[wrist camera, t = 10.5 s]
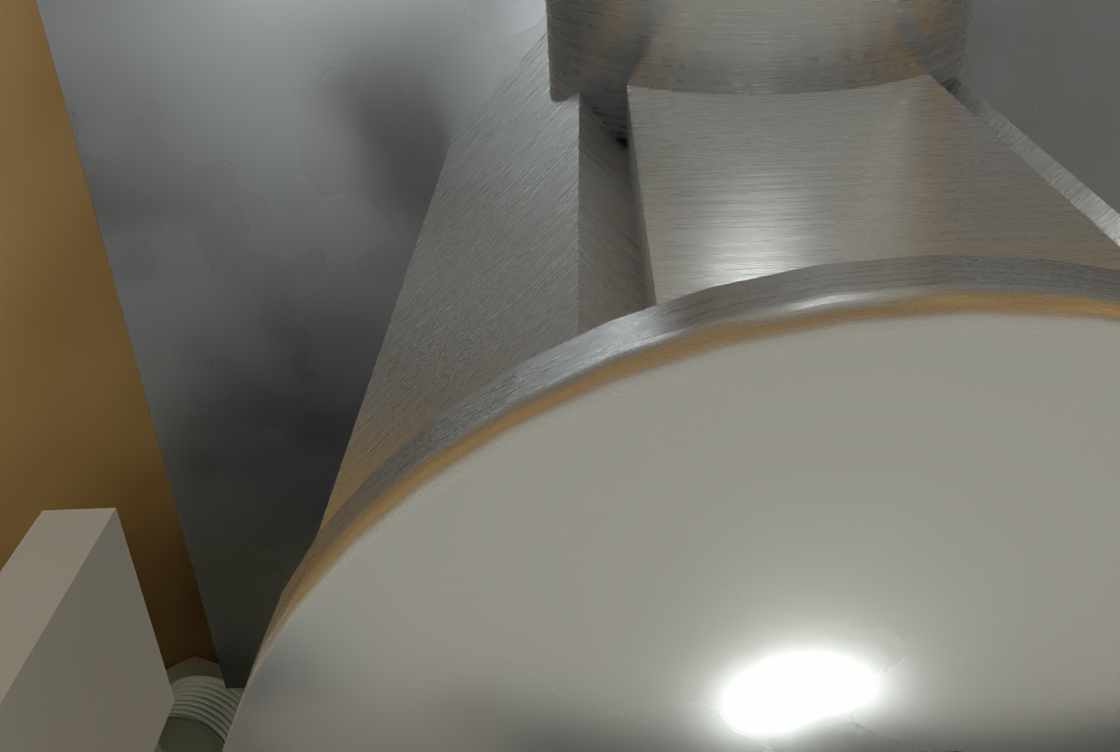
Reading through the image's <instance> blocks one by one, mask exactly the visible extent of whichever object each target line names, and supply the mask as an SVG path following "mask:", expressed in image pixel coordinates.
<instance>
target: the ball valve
mask: <svg viewBox="0 0 1120 752" xmlns="http://www.w3.org/2000/svg"><path fill="white" fill-rule="evenodd" d="M166 673H167V676H168V679H169V683H170V686H171V689H172V692H173V696H174V699H175V700H174V703H173V705H172V708H171V710H170V713H169V715H168V718H167V720H166V723H165V725H164V728H163V730H162V733H161V735H160V738H159V740H158V742H157V745H156V747H155V750H154V752H222V750H223V747H224V744H225V742H226V739H227V736H228V733H229V731H230V728H231V725H232V722H233V720H234V717H235V714H236V711H237V709H238V706H239V703H240V700H241V698H242V695H243V692H244V689H245V688H226V687H225V683H224V680H223V676H222V672H221V669H220V665H219V664H217V663H215V662H212V661H208V660H205V659H202V658H198V657H195V656H194V657H192V658H189V659H187V660H185V661H183V662H181V663H179V664H177V665H175V666H173V667H171V668H169V669H167V670H166Z"/></svg>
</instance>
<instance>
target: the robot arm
mask: <svg viewBox="0 0 1120 752" xmlns="http://www.w3.org/2000/svg"><path fill="white" fill-rule="evenodd" d="M174 700H175V699H174V696H173V692H172V689H171V686H170V683H169V679H168V676H167V673H166V669H165V666H164V663H163V660H162V656H161V653H160V650H159V647H158V643H157V640H156V637H155V634H154V630H153V627H152V624H151V621H150V617H149V614H148V611H147V608H146V604H145V601H144V598H143V594H142V591H141V588H140V585H139V581H138V578H137V575H136V572H135V568H134V565H133V562H132V559H131V555H130V552H129V549H128V546H127V542H126V539H125V536H124V532H123V529H122V526H121V523H120V519H119V516H118V513H117V510H116V508H96V509H70V510H44V511H42V512H41V513H40V515H39V516H38V517H37V519H36V520H35V522H34V523H33V525H32V526H31V528H30V529H29V531H28V532H27V533H26V535H25V536H24V538H23V539H22V541H21V542H20V544H19V545H18V547H17V548H16V549H15V551H14V552H13V554H12V555H11V557H10V558H9V560H8V561H7V563H6V564H5V565H4V567H3V568H2V570H1V571H0V752H154V750H155V747H156V745H157V742H158V740H159V738H160V735H161V733H162V730H163V728H164V725H165V723H166V720H167V718H168V715H169V713H170V710H171V708H172V705H173V703H174Z"/></svg>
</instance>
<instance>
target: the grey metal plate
mask: <svg viewBox="0 0 1120 752" xmlns="http://www.w3.org/2000/svg"><path fill="white" fill-rule="evenodd" d="M36 1H37V4H38V8H39V12H40V15H41V19H42V23H43V26H44V30H45V33H46V37H47V41H48V44H49V48H50V52H51V55H52V59H53V63H54V66H55V70H56V73H57V77H58V81H59V84H60V88H61V92H62V95H63V99H64V102H65V106H66V110H67V113H68V117H69V121H70V124H71V128H72V131H73V135H74V139H75V142H76V146H77V150H78V153H79V157H80V161H81V164H82V168H83V171H84V175H85V179H86V182H87V186H88V190H89V193H90V197H91V200H92V204H93V208H94V211H95V215H96V219H97V222H98V226H99V229H100V233H101V237H102V240H103V244H104V248H105V251H106V255H107V259H108V262H109V266H110V269H111V273H112V277H113V280H114V284H115V288H116V291H117V295H118V298H119V302H120V306H121V309H122V313H123V317H124V320H125V324H126V327H127V331H128V335H129V338H130V342H131V346H132V349H133V353H134V357H135V360H136V364H137V367H138V371H139V375H140V378H141V382H142V386H143V389H144V393H145V396H146V400H147V404H148V407H149V411H150V415H151V418H152V422H153V426H154V429H155V433H156V436H157V440H158V444H159V447H160V451H161V455H162V458H163V462H164V465H165V469H166V473H167V476H168V480H169V484H170V487H171V491H172V494H173V498H174V502H175V505H176V509H177V513H178V516H179V520H180V524H181V527H182V531H183V534H184V538H185V542H186V545H187V549H188V553H189V556H190V560H191V563H192V567H193V571H194V574H195V578H196V582H197V585H198V589H199V592H200V596H201V600H202V603H203V607H204V611H205V614H206V618H207V622H208V625H209V629H210V632H211V636H212V640H213V643H214V647H215V651H216V654H217V658H218V661H219V665H220V669H221V672H222V676H223V680H224V683H225V687H226V688H245V687H246V684H247V681H248V678H249V676H250V673H251V670H252V667H253V664H254V662H255V659H256V656H257V653H258V651H259V648H260V646H261V643H262V641H263V638H264V636H265V633H266V631H267V629H268V626H269V624H270V621H271V619H272V616H273V614H274V611H275V609H276V606H277V604H278V601H279V599H280V597H281V594H282V592H283V590H284V588H285V586H286V585H287V583H288V582H289V580H290V579H291V577H292V575H293V574H294V572H295V571H296V569H297V567H298V566H299V564H300V563H301V561H302V559H303V558H304V556H305V555H306V553H307V551H308V550H309V548H310V547H311V545H312V543H313V542H314V540H315V539H316V537H317V534H318V531H319V528H320V525H321V522H322V519H323V517H324V514H325V511H326V508H327V505H328V502H329V499H330V496H331V493H332V490H333V487H334V484H335V481H336V478H337V475H338V473H339V470H340V467H341V464H342V461H343V458H344V455H345V452H346V449H347V446H348V443H349V440H350V437H351V434H352V431H353V429H354V426H355V423H356V420H357V417H358V414H359V411H360V408H361V405H362V402H363V399H364V396H365V393H366V390H367V387H368V385H369V382H370V379H371V376H372V373H373V370H374V367H375V364H376V361H377V358H378V355H379V352H380V349H381V346H382V343H383V341H384V338H385V335H386V332H387V329H388V326H389V323H390V320H391V317H392V314H393V311H394V308H395V305H396V302H397V299H398V297H399V294H400V291H401V288H402V285H403V282H404V279H405V276H406V273H407V270H408V267H409V264H410V261H411V258H412V255H413V253H414V250H415V247H416V244H417V241H418V238H419V235H420V232H421V229H422V226H423V223H424V220H425V217H426V214H427V211H428V208H429V206H430V203H431V200H432V197H433V194H434V191H435V188H436V185H437V182H438V179H439V176H440V173H441V170H442V167H443V164H444V162H445V159H446V156H447V153H448V150H449V147H450V144H451V141H452V138H453V136H454V135H455V134H456V133H457V132H458V131H459V130H460V129H461V127H462V126H463V125H464V124H465V123H466V122H467V121H468V120H469V118H470V117H471V116H472V115H473V114H474V113H475V112H476V111H477V109H478V108H479V107H480V106H481V105H482V104H483V103H484V102H485V100H486V99H487V98H488V97H489V96H490V95H491V94H492V93H493V91H494V90H495V89H496V88H497V87H498V86H499V85H500V84H501V82H502V81H503V80H504V79H505V78H506V77H507V76H508V75H509V73H510V72H511V71H512V70H513V69H514V68H515V67H516V66H517V64H518V63H519V62H520V61H521V60H522V59H523V58H524V57H525V55H526V54H527V53H528V52H529V51H530V50H531V49H532V48H533V46H534V45H535V44H536V43H537V42H538V41H539V40H540V39H541V37H542V36H543V35H544V34H545V33H546V32H547V19H546V0H36ZM963 83H964V84H966V85H967V86H968V87H969V88H970V89H971V90H973V91H974V92H975V93H976V94H977V95H979V96H980V97H981V98H982V99H983V100H984V101H986V102H987V103H988V104H989V105H990V106H992V107H993V108H994V109H995V110H996V111H997V112H999V113H1000V114H1001V115H1002V116H1003V117H1005V118H1006V119H1007V120H1008V121H1009V122H1010V123H1012V124H1013V125H1014V126H1015V127H1016V128H1018V129H1019V130H1020V131H1021V132H1022V133H1023V134H1025V135H1026V136H1027V137H1028V138H1029V139H1031V140H1032V141H1033V142H1034V143H1035V144H1036V145H1038V146H1039V147H1040V148H1041V149H1042V150H1044V151H1045V152H1046V153H1047V154H1048V155H1050V156H1051V157H1052V158H1053V159H1054V160H1055V161H1057V162H1058V163H1059V164H1060V165H1061V166H1063V167H1064V168H1065V169H1066V170H1067V171H1068V172H1070V173H1071V174H1072V175H1073V176H1074V177H1076V178H1077V179H1078V180H1079V181H1080V182H1081V183H1083V184H1084V185H1085V186H1086V187H1087V188H1089V189H1090V190H1091V191H1092V192H1093V193H1094V194H1096V195H1097V196H1098V197H1099V198H1100V199H1102V200H1103V201H1104V202H1105V203H1106V204H1107V205H1109V206H1110V207H1111V208H1112V209H1113V210H1115V211H1116V212H1117V213H1118V214H1119V215H1120V0H974V7H973V14H972V21H971V28H970V34H969V41H968V48H967V55H966V62H965V69H964V76H963Z"/></svg>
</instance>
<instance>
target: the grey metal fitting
mask: <svg viewBox="0 0 1120 752" xmlns="http://www.w3.org/2000/svg"><path fill="white" fill-rule="evenodd" d="M973 7H974V0H546V19H547V32H546V33H545V34H544V35H543V36H542V37H541V39H540V40H539V41H538V42H537V43H536V44H535V45H534V46H533V48H532V49H531V50H530V51H529V52H528V53H527V54H526V55H525V57H524V58H523V59H522V60H521V61H520V62H519V63H518V64H517V66H516V67H515V68H514V69H513V70H512V71H511V72H510V73H509V75H508V76H507V77H506V78H505V79H504V80H503V81H502V82H501V84H500V85H499V86H498V87H497V88H496V89H495V90H494V91H493V93H492V94H491V95H490V96H489V97H488V98H487V99H486V100H485V102H484V103H483V104H482V105H481V106H480V107H479V108H478V109H477V111H476V112H475V113H474V114H473V115H472V116H471V117H470V118H469V120H468V121H467V122H466V123H465V124H464V125H463V126H462V127H461V129H460V130H459V131H458V132H457V133H456V134H455V135H454V136H453V138H452V141H451V144H450V147H449V150H448V153H447V156H446V159H445V162H444V164H443V167H442V170H441V173H440V176H439V179H438V182H437V185H436V188H435V191H434V194H433V197H432V200H431V203H430V206H429V208H428V211H427V214H426V217H425V220H424V223H423V226H422V229H421V232H420V235H419V238H418V241H417V244H416V247H415V250H414V253H413V255H412V258H411V261H410V264H409V267H408V270H407V273H406V276H405V279H404V282H403V285H402V288H401V291H400V294H399V297H398V299H397V302H396V305H395V308H394V311H393V314H392V317H391V320H390V323H389V326H388V329H387V332H386V335H385V338H384V341H383V343H382V346H381V349H380V352H379V355H378V358H377V361H376V364H375V367H374V370H373V373H372V376H371V379H370V382H369V385H368V387H367V390H366V393H365V396H364V399H363V402H362V405H361V408H360V411H359V414H358V417H357V420H356V423H355V426H354V429H353V431H352V434H351V437H350V440H349V443H348V446H347V449H346V452H345V455H344V458H343V461H342V464H341V467H340V470H339V473H338V475H337V478H336V481H335V484H334V487H333V490H332V493H331V496H330V499H329V502H328V505H327V508H326V511H325V514H324V517H323V519H322V522H321V525H320V528H319V531H318V534H317V537H316V539H315V540H314V542H313V543H312V545H311V547H310V548H309V550H308V551H307V553H306V555H305V556H304V558H303V559H302V561H301V563H300V564H299V566H298V567H297V569H296V571H295V572H294V574H293V575H292V577H291V579H290V580H289V582H288V583H287V585H286V586H285V588H284V590H283V592H282V594H281V597H280V599H279V601H278V604H277V606H276V609H275V611H274V614H273V616H272V619H271V621H270V624H269V626H268V629H267V631H266V633H265V636H264V638H263V641H262V643H261V646H260V648H259V651H258V653H257V656H256V659H255V662H254V664H253V667H252V670H251V673H250V676H249V678H248V681H247V684H246V687H245V689H244V692H243V695H242V698H241V700H240V703H239V706H238V709H237V711H236V714H235V717H234V720H233V722H232V725H231V728H230V731H229V733H228V736H227V739H226V742H225V744H224V747H223V750H222V752H1120V215H1119V214H1118V213H1117V212H1116V211H1115V210H1113V209H1112V208H1111V207H1110V206H1109V205H1107V204H1106V203H1105V202H1104V201H1103V200H1102V199H1100V198H1099V197H1098V196H1097V195H1096V194H1094V193H1093V192H1092V191H1091V190H1090V189H1089V188H1087V187H1086V186H1085V185H1084V184H1083V183H1081V182H1080V181H1079V180H1078V179H1077V178H1076V177H1074V176H1073V175H1072V174H1071V173H1070V172H1068V171H1067V170H1066V169H1065V168H1064V167H1063V166H1061V165H1060V164H1059V163H1058V162H1057V161H1055V160H1054V159H1053V158H1052V157H1051V156H1050V155H1048V154H1047V153H1046V152H1045V151H1044V150H1042V149H1041V148H1040V147H1039V146H1038V145H1036V144H1035V143H1034V142H1033V141H1032V140H1031V139H1029V138H1028V137H1027V136H1026V135H1025V134H1023V133H1022V132H1021V131H1020V130H1019V129H1018V128H1016V127H1015V126H1014V125H1013V124H1012V123H1010V122H1009V121H1008V120H1007V119H1006V118H1005V117H1003V116H1002V115H1001V114H1000V113H999V112H997V111H996V110H995V109H994V108H993V107H992V106H990V105H989V104H988V103H987V102H986V101H984V100H983V99H982V98H981V97H980V96H979V95H977V94H976V93H975V92H974V91H973V90H971V89H970V88H969V87H968V86H967V85H966V84H964V83H963V76H964V69H965V62H966V55H967V48H968V41H969V34H970V28H971V21H972V14H973Z"/></svg>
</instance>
